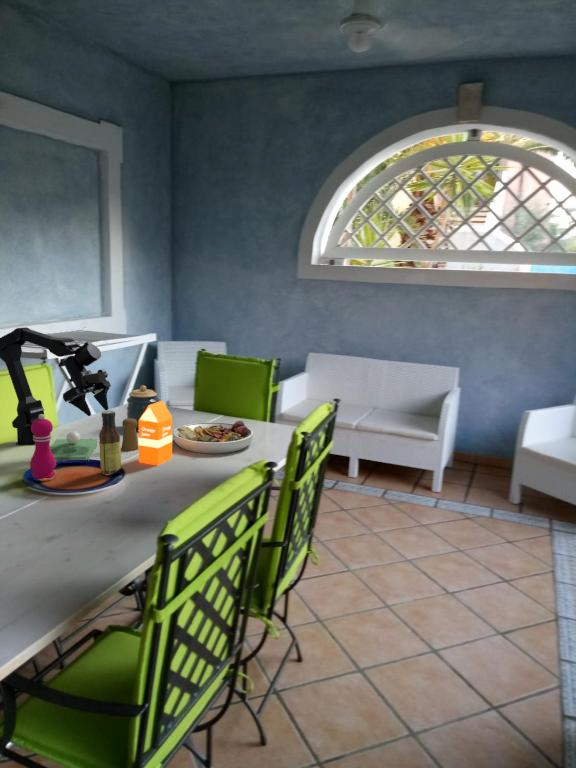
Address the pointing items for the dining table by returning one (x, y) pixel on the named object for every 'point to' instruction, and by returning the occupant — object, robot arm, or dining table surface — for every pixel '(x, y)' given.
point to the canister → (140, 402)
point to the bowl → (213, 437)
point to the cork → (129, 435)
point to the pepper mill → (42, 449)
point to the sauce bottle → (109, 444)
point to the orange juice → (155, 435)
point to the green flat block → (73, 449)
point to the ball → (73, 437)
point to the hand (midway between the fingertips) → (98, 412)
